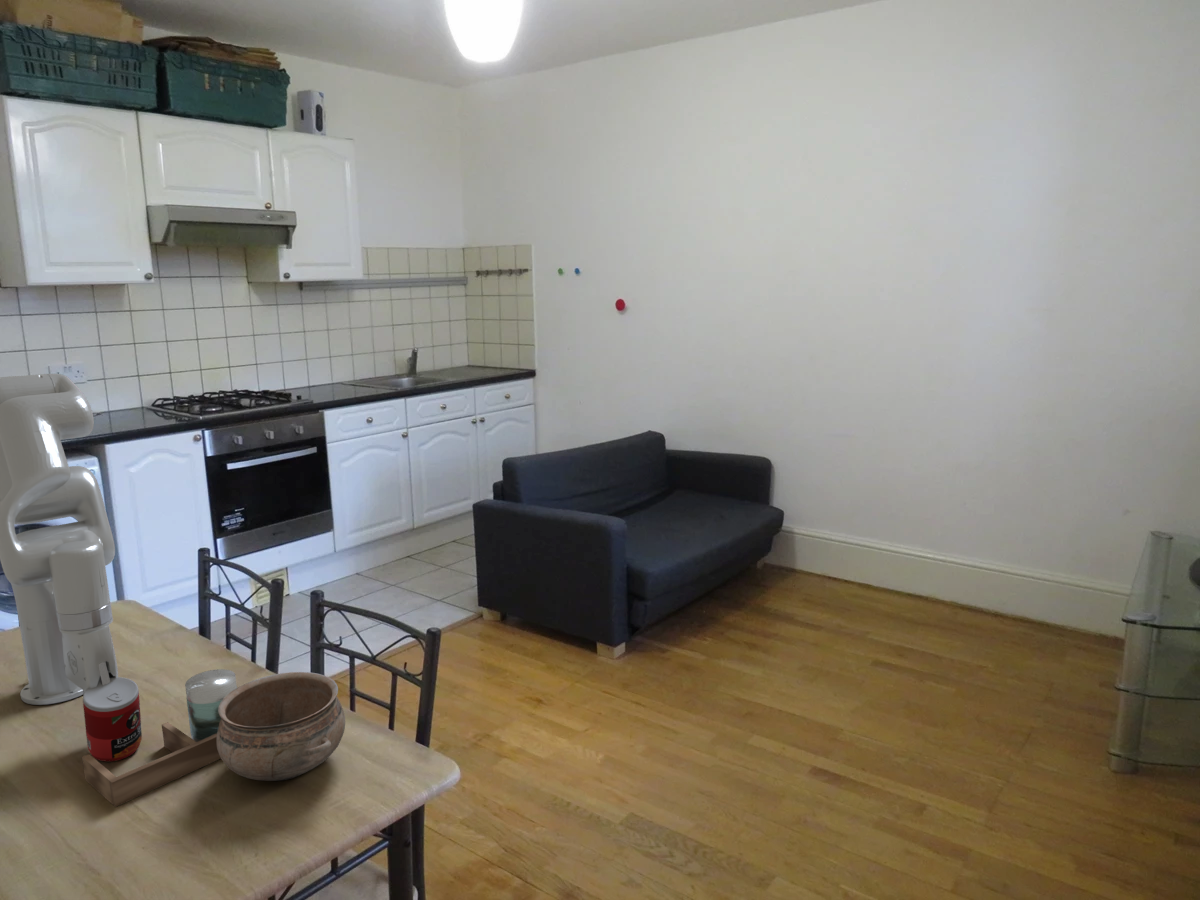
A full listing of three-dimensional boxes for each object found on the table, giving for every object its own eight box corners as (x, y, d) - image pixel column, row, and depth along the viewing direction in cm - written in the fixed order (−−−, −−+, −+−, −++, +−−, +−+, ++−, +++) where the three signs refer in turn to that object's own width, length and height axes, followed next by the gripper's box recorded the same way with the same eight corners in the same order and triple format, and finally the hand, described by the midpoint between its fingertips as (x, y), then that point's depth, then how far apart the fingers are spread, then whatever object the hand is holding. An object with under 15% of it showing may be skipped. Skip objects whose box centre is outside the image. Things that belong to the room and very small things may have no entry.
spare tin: (183, 742, 140) (176, 681, 138) (227, 723, 146) (221, 665, 144) (206, 757, 136) (198, 695, 133) (250, 737, 141) (244, 677, 139)
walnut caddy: (85, 780, 130) (81, 756, 129) (238, 714, 149) (236, 694, 148) (115, 806, 123) (111, 782, 122) (272, 734, 142) (269, 713, 141)
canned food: (120, 768, 133) (115, 713, 129) (75, 755, 134) (70, 700, 130) (153, 736, 141) (150, 684, 136) (110, 724, 142) (106, 671, 137)
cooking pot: (191, 764, 134) (183, 694, 131) (301, 718, 147) (295, 654, 145) (267, 831, 117) (259, 752, 115) (382, 772, 131) (377, 701, 129)
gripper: (42, 613, 138) (58, 715, 142) (78, 635, 129) (94, 743, 132) (92, 600, 144) (106, 698, 147) (129, 619, 135) (143, 724, 138)
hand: (100, 719), depth 140 cm, fingers closed
